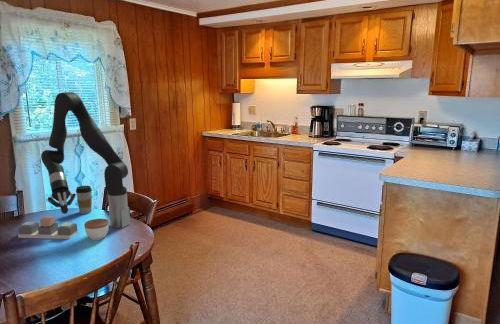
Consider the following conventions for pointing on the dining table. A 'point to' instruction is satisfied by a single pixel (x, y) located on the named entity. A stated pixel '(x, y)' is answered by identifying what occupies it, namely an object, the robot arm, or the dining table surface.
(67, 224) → the sage key
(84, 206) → the coffee cup
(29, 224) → the slate key
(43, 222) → the terracotta key
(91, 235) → the lidded jar
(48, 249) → the dining table surface
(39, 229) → the keypad board
